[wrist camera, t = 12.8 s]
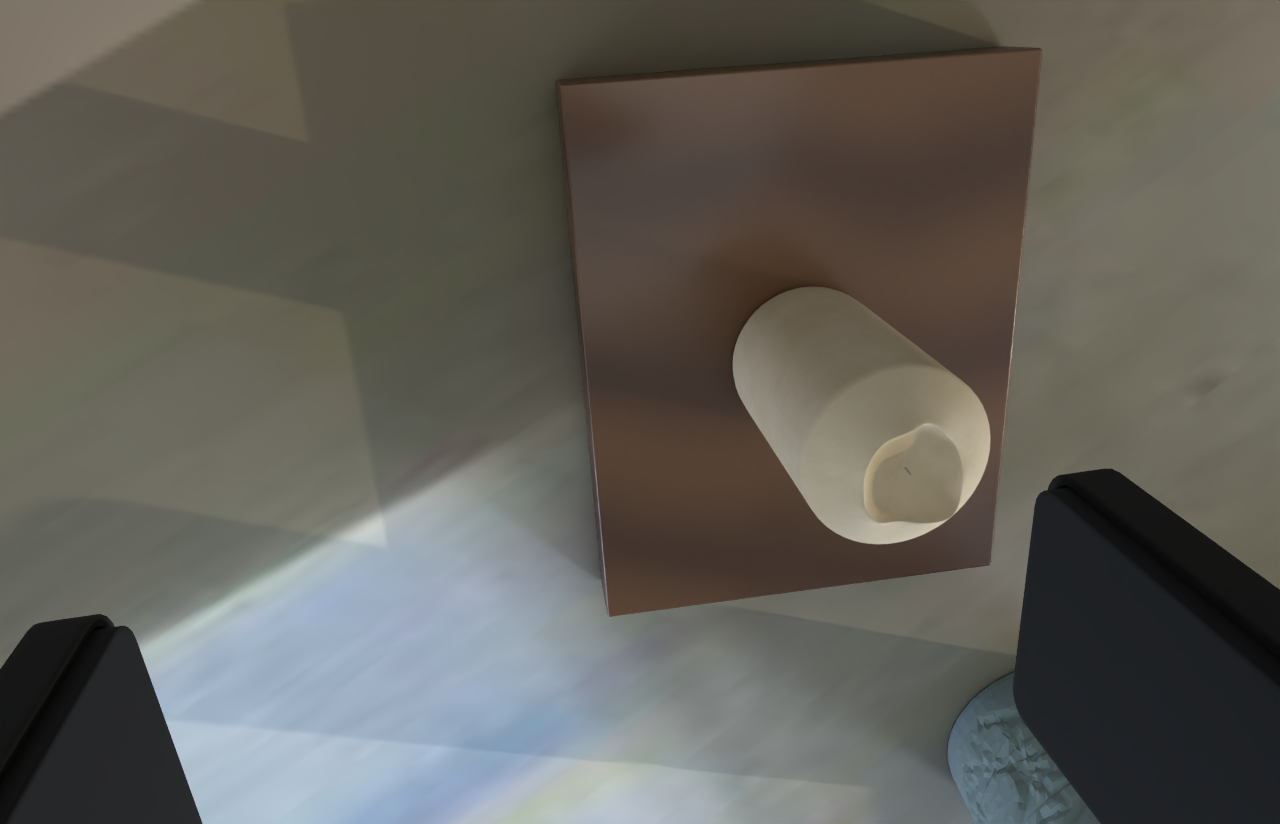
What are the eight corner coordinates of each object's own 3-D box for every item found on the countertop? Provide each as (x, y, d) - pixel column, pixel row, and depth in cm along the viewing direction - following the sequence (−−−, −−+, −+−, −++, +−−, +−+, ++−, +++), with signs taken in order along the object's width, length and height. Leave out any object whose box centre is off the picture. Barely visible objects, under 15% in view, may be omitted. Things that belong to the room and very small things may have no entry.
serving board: (554, 79, 31) (559, 84, 29) (1005, 46, 33) (1043, 47, 31) (601, 583, 39) (607, 618, 37) (964, 535, 41) (991, 565, 39)
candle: (905, 362, 34) (1053, 485, 25) (788, 455, 35) (890, 607, 26) (822, 251, 32) (950, 342, 23) (699, 353, 33) (777, 479, 24)
